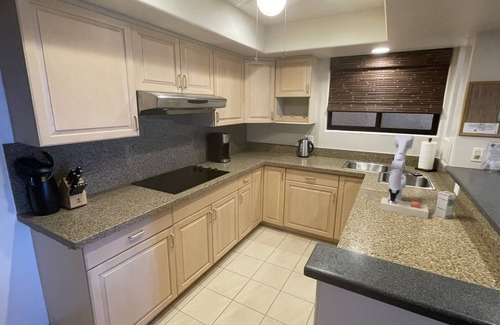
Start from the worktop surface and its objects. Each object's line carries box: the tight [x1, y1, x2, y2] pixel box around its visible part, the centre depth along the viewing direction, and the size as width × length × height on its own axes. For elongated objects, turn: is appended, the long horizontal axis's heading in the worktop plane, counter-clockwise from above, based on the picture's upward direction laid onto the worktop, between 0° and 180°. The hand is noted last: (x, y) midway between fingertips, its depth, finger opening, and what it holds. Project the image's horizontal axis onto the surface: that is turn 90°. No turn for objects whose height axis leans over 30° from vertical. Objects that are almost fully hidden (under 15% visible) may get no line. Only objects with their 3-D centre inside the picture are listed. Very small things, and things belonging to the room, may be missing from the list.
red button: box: [410, 200, 422, 208], centre depth 145 cm, size 5×5×5 cm
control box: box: [379, 197, 430, 220], centre depth 149 cm, size 12×24×4 cm, turn 58°
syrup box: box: [434, 190, 457, 219], centre depth 140 cm, size 6×6×14 cm
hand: (392, 200), depth 151 cm, fingers closed
